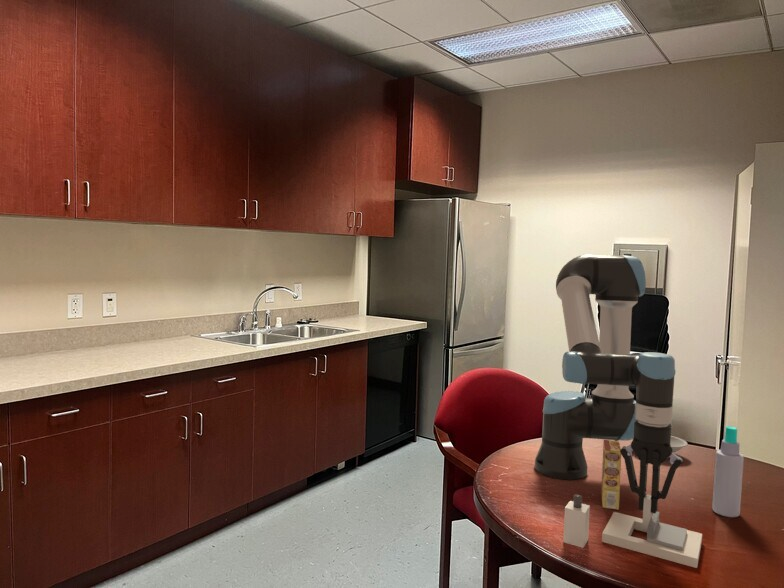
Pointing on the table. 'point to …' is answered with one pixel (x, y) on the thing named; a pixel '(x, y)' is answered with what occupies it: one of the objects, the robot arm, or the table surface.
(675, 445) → the dish
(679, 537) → the shutter
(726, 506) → the spray bottle
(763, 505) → the table surface
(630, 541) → the socket plate
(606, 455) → the candy box
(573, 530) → the plug
